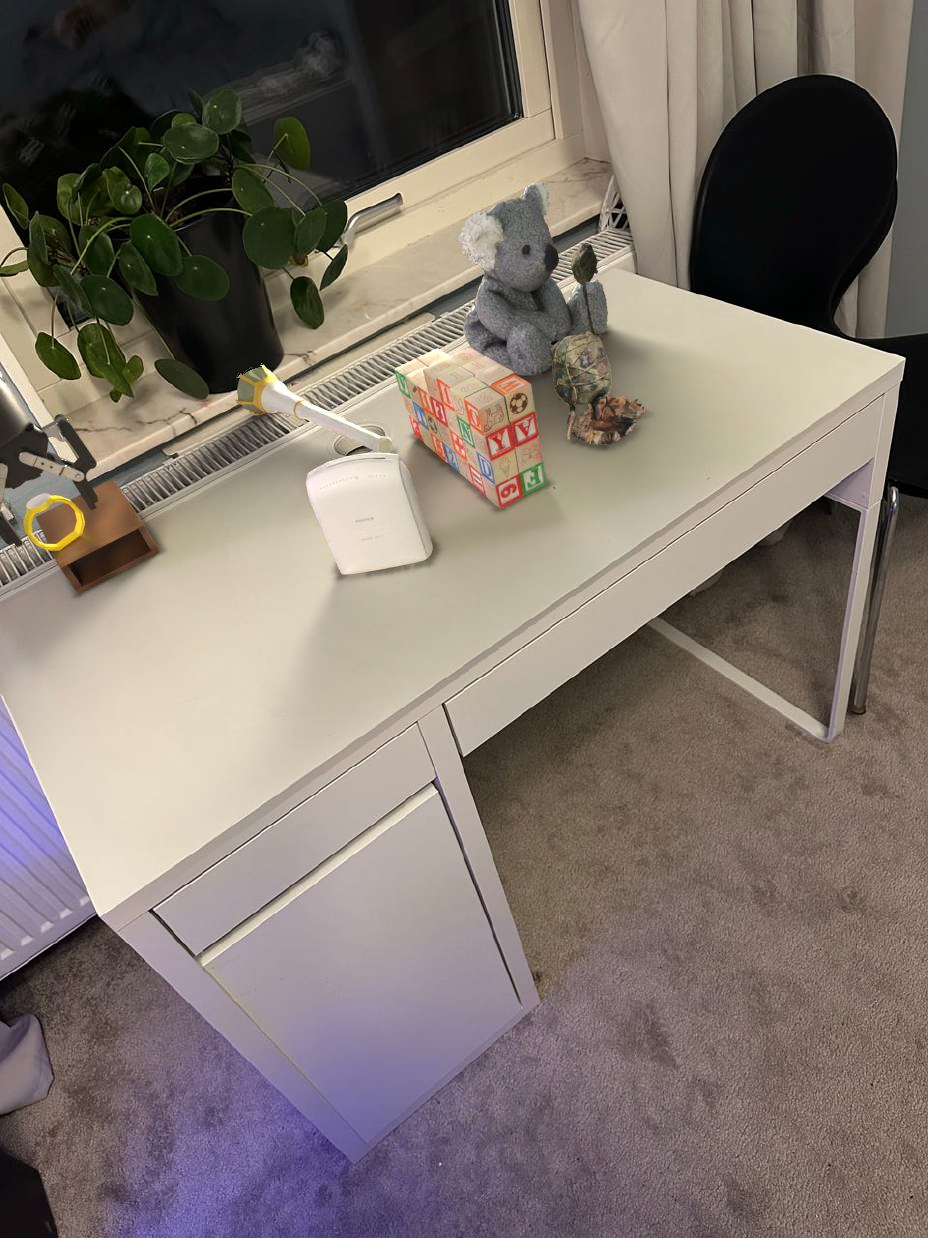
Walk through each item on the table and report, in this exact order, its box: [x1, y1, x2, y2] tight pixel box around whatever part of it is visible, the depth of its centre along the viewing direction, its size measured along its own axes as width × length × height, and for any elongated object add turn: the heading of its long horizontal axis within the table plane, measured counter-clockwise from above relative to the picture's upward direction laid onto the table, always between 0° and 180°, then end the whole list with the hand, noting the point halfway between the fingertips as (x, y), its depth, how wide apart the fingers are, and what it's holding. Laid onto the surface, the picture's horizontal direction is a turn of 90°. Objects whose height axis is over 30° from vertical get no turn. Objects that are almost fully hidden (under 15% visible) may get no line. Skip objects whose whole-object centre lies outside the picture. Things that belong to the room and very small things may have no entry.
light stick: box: [234, 364, 393, 453], centre depth 110 cm, size 7×6×30 cm
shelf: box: [35, 478, 160, 595], centre depth 100 cm, size 10×13×4 cm
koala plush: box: [456, 180, 609, 377], centre depth 110 cm, size 17×18×20 cm
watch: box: [23, 492, 85, 552], centre depth 93 cm, size 6×3×6 cm, turn 136°
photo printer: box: [305, 452, 434, 575], centre depth 84 cm, size 10×4×12 cm, turn 91°
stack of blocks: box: [393, 346, 547, 509], centre depth 94 cm, size 21×6×12 cm, turn 30°
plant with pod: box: [547, 242, 647, 447], centre depth 90 cm, size 8×11×20 cm
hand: (56, 524), depth 93 cm, fingers open, 8 cm apart
